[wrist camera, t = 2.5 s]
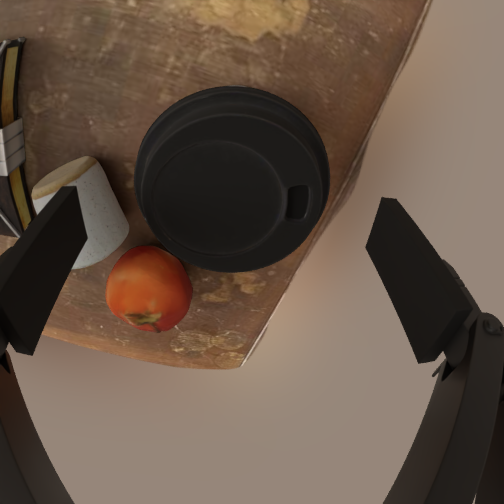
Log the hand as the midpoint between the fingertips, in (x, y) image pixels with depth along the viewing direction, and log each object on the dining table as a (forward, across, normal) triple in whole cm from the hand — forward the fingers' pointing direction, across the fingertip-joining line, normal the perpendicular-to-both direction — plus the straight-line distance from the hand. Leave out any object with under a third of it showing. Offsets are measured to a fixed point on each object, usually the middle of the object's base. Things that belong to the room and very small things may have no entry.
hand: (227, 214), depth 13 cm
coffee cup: (+16, 0, 0) cm, 16 cm away
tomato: (+16, -8, -17) cm, 24 cm away
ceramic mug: (+16, -15, -8) cm, 23 cm away
